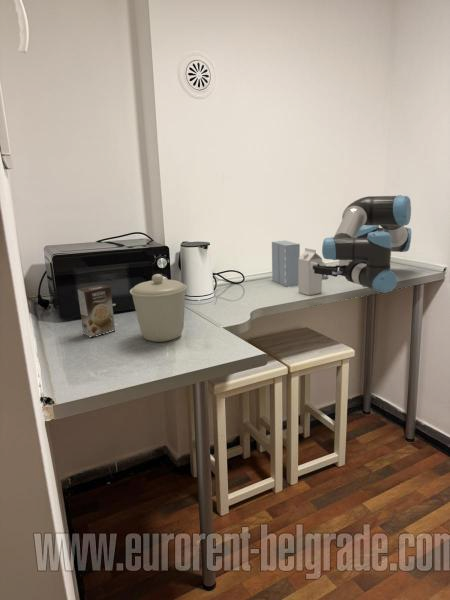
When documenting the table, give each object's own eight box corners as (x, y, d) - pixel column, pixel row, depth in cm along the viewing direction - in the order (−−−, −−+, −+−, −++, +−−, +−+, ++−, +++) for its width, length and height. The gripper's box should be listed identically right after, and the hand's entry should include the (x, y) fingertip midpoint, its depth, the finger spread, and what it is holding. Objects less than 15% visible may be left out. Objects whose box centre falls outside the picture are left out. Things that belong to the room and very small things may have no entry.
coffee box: (91, 338, 143) (84, 292, 139) (82, 334, 148) (76, 289, 143) (116, 331, 149) (110, 286, 145) (107, 327, 154) (101, 283, 149)
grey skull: (304, 277, 214) (304, 262, 212) (315, 274, 219) (315, 259, 217) (320, 280, 206) (321, 265, 204) (331, 278, 211) (332, 262, 209)
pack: (285, 278, 213) (284, 240, 208) (299, 284, 200) (299, 243, 195) (271, 280, 210) (271, 241, 205) (285, 286, 198) (285, 245, 193)
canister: (166, 350, 130) (160, 283, 124) (123, 341, 139) (115, 277, 134) (201, 332, 144) (197, 270, 139) (160, 324, 154) (154, 266, 148)
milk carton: (311, 289, 190) (311, 247, 185) (321, 293, 184) (322, 249, 179) (298, 292, 187) (298, 249, 182) (308, 295, 181) (308, 251, 176)
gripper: (329, 288, 151) (298, 276, 170) (387, 279, 159) (351, 268, 178) (329, 267, 148) (298, 257, 168) (388, 259, 157) (351, 250, 176)
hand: (325, 263), depth 173 cm, fingers open, 13 cm apart
